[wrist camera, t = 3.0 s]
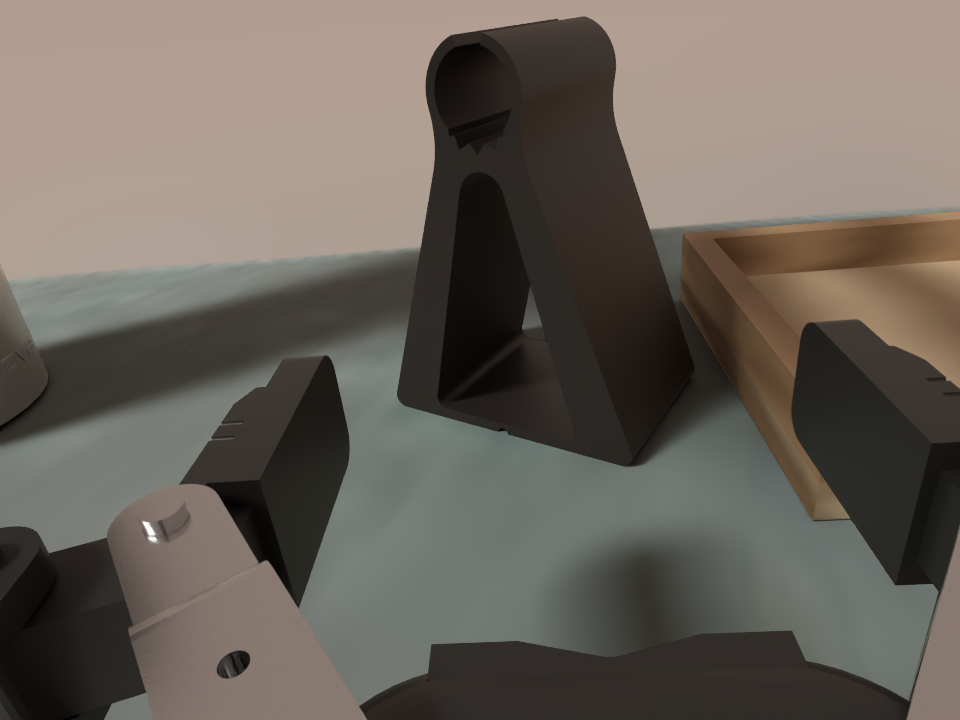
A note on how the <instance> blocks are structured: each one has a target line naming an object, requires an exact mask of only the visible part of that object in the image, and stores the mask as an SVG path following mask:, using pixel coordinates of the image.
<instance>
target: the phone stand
mask: <svg viewBox="0 0 960 720" xmlns="http://www.w3.org/2000/svg"><path fill="white" fill-rule="evenodd" d="M615 71H616V59H615V53H614V49H613V46H612V43H611V41H610V39H609V37H608V35H607V33H606V32H605V31H604V30H603V28H602V27H601V26H600V25H599V24H597V23H596V22H595V21H593V20H592V19H590V18H588V17H578V18H571V19H565V20H559V21H558V19H554V20H547V21H540V22H534V23H527V24H520V25H514V26H507V27H501V28H495V29H488V30H481V31H475V32H468V33H462V34H455V35H451V36H449V37H448V38H446V39H445V40H444V41H443V42H442V43H441V44H440V45H439V46H438V48H437V49H436V50H435V52H434V54H433V56H432V58H431V60H430V63H429V66H428V70H427V76H426V97H427V104H428V108H429V111H430V115H431V120H432V125H433V130H434V139H435V163H434V172H433V178H432V184H431V190H430V196H429V202H428V208H427V214H426V220H425V226H424V233H423V239H422V245H421V251H420V257H419V263H418V269H417V275H416V281H415V287H414V293H413V299H412V305H411V312H410V318H409V324H408V330H407V336H406V342H405V348H404V354H403V360H402V366H401V372H400V379H399V385H398V391H397V396H398V399H399V401H400V402H401V403H402V404H403V405H405V406H407V407H411V408H414V409H418V410H422V411H425V412H429V413H432V414H436V415H440V416H443V417H447V418H451V419H454V420H458V421H461V422H465V423H469V424H472V425H476V426H480V427H483V428H487V429H490V430H494V431H498V432H499V431H500V430H501V429H502V428H503V429H505V430H506V431H507V432H508V435H512V436H516V437H519V438H523V439H527V440H530V441H534V442H537V443H541V444H545V445H548V446H552V447H556V448H559V449H563V450H566V451H570V452H574V453H577V454H581V455H584V456H588V457H592V458H595V459H599V460H603V461H606V462H610V463H613V464H617V465H621V466H627V465H629V464H630V463H631V462H632V460H633V459H634V458H635V456H636V455H637V453H638V452H639V450H640V449H641V448H642V446H643V445H644V443H645V442H646V440H647V439H648V437H649V436H650V435H651V433H652V432H653V430H654V429H655V427H656V426H657V424H658V423H659V422H660V420H661V419H662V417H663V416H664V414H665V413H666V411H667V410H668V409H669V407H670V406H671V404H672V403H673V401H674V400H675V399H676V397H677V396H678V394H679V393H680V391H681V390H682V388H683V387H684V386H685V384H686V383H687V381H688V380H689V378H690V377H691V375H692V374H693V373H694V369H695V368H694V364H693V361H692V358H691V355H690V352H689V349H688V346H687V343H686V340H685V336H684V333H683V330H682V327H681V324H680V321H679V318H678V315H677V312H676V309H675V306H674V303H673V300H672V297H671V293H670V290H669V287H668V284H667V281H666V278H665V275H664V272H663V269H662V266H661V263H660V260H659V257H658V254H657V251H656V247H655V244H654V241H653V238H652V235H651V232H650V229H649V226H648V223H647V220H646V217H645V214H644V211H643V208H642V205H641V201H640V198H639V195H638V192H637V189H636V187H635V183H634V180H633V177H632V174H631V171H630V168H629V165H628V162H627V159H626V156H625V153H624V149H623V146H622V143H621V140H620V137H619V134H618V131H617V127H616V123H615V118H614V111H613V87H614V79H615ZM530 285H531V289H532V292H533V295H534V299H535V302H536V305H537V309H538V312H539V316H540V319H541V322H542V326H543V329H544V332H545V336H546V339H547V341H542V340H537V339H531V338H528V337H527V336H525V335H524V333H523V331H522V325H523V319H524V314H525V309H526V304H527V298H528V293H529V288H530Z"/></svg>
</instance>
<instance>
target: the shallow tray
mask: <svg viewBox="0 0 960 720" xmlns="http://www.w3.org/2000/svg"><path fill="white" fill-rule="evenodd" d="M680 298H681V300H682V302H683V303H684V305H685V307H686V308H687V310H688V312H689V313H690V315H691V317H692V319H693V320H694V322H695V324H696V325H697V327H698V329H699V330H700V332H701V334H702V335H703V337H704V339H705V340H706V342H707V344H708V345H709V347H710V349H711V350H712V352H713V354H714V355H715V357H716V359H717V360H718V362H719V364H720V366H721V367H722V369H723V371H724V372H725V374H726V376H727V377H728V379H729V381H730V382H731V384H732V386H733V387H734V389H735V391H736V392H737V394H738V396H739V397H740V399H741V401H742V402H743V404H744V406H745V408H746V409H747V411H748V413H749V414H750V416H751V418H752V419H753V421H754V423H755V424H756V426H757V428H758V429H759V431H760V433H761V434H762V436H763V438H764V439H765V441H766V443H767V444H768V446H769V448H770V449H771V451H772V453H773V455H774V456H775V458H776V460H777V461H778V463H779V465H780V466H781V468H782V470H783V471H784V473H785V475H786V476H787V478H788V480H789V481H790V483H791V485H792V486H793V488H794V490H795V491H796V493H797V495H798V497H799V498H800V500H801V502H802V503H803V505H804V507H805V508H806V510H807V512H808V513H809V515H810V517H811V518H812V520H833V519H850V517H849V516H848V514H847V513H846V511H845V510H844V508H843V507H842V505H841V504H840V502H839V501H838V499H837V498H836V496H835V495H834V493H833V492H832V490H831V489H830V487H829V486H828V484H827V483H826V481H825V480H824V478H823V477H822V475H821V474H820V472H819V471H818V469H817V468H816V467H815V465H814V464H813V462H812V461H811V459H810V458H809V456H808V455H807V453H806V452H805V450H804V449H803V447H802V446H801V444H800V443H799V441H798V439H797V437H796V435H795V432H794V428H793V423H792V416H791V405H792V397H793V389H794V382H795V375H796V367H797V360H798V353H799V345H800V338H801V334H802V331H803V328H804V327H805V325H806V324H807V323H809V322H822V321H836V320H850V319H858V320H860V321H862V322H863V323H864V324H865V325H866V326H867V327H868V328H870V329H871V330H872V331H873V332H874V333H875V334H876V335H877V336H879V337H880V338H881V339H882V340H883V341H884V342H885V343H886V344H888V345H889V346H896V347H898V348H901V349H903V350H905V351H907V352H909V353H912V354H914V355H916V356H918V357H921V358H923V359H925V360H926V361H928V362H929V363H930V364H931V365H932V366H933V367H935V368H936V369H937V370H938V371H939V372H941V373H942V374H943V375H944V376H945V377H946V381H951V382H952V383H954V384H955V385H956V386H957V387H958V388H960V211H959V212H947V213H934V214H922V215H909V216H897V217H884V218H872V219H859V220H847V221H834V222H822V223H809V224H797V225H784V226H772V227H759V228H747V229H734V230H722V231H709V232H697V233H684V234H683V244H682V266H681V287H680Z"/></svg>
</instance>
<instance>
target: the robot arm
mask: <svg viewBox="0 0 960 720" xmlns="http://www.w3.org/2000/svg"><path fill="white" fill-rule="evenodd" d="M47 383H48V372H47V370H46V368H45V366H44V363H43V361H42V359H41V357H40V354H39V352H38V350H37V348H36V345H35V343H34V341H33V338H32V336H31V334H30V332H29V329H28V327H27V325H26V323H25V320H24V318H23V316H22V314H21V311H20V309H19V307H18V305H17V302H16V300H15V298H14V296H13V293H12V290H11V288H10V285H9V283H8V281H7V279H6V276H5V274H4V272H3V270H2V267H1V265H0V426H1V425H2V424H4V423H6V422H7V421H9V420H11V419H12V418H13V417H15V416H16V415H17V414H19V413H20V412H22V411H23V410H24V409H26V408H27V407H28V406H29V405H30V404H31V403H32V402H33V401H35V400H36V399H37V398H38V397H39V396H40V395H41V393H42V392H43V390H44V388H45V387H46V385H47ZM791 416H792V423H793V428H794V432H795V435H796V437H797V439H798V441H799V443H800V444H801V446H802V447H803V449H804V450H805V452H806V453H807V455H808V456H809V458H810V459H811V461H812V462H813V464H814V465H815V467H816V468H817V469H818V471H819V472H820V474H821V475H822V477H823V478H824V480H825V481H826V483H827V484H828V486H829V487H830V489H831V490H832V492H833V493H834V495H835V496H836V498H837V499H838V501H839V502H840V504H841V505H842V507H843V508H844V510H845V511H846V513H847V514H848V516H849V517H850V519H851V520H852V522H853V523H854V524H855V526H856V527H857V529H858V530H859V532H860V533H861V535H862V536H863V538H864V539H865V541H866V542H867V544H868V545H869V547H870V548H871V550H872V551H873V553H874V554H875V556H876V557H877V559H878V560H879V562H880V563H881V565H882V566H883V568H884V569H885V571H886V572H887V574H888V575H889V577H890V578H891V579H892V581H893V582H894V584H895V585H915V584H933V585H934V586H935V587H936V589H937V590H938V591H939V593H938V596H937V600H936V603H935V606H934V610H933V613H932V617H931V620H930V624H929V627H928V631H927V634H926V638H925V641H924V645H923V648H922V652H921V655H920V659H919V662H918V666H917V669H916V673H915V676H914V680H913V683H912V687H911V690H910V694H909V697H908V700H906V699H904V698H902V697H901V696H899V695H897V694H895V693H894V692H892V691H890V690H888V689H886V688H884V687H882V686H880V685H878V684H875V683H873V682H871V681H869V680H867V679H864V678H862V677H859V676H856V675H854V674H851V673H848V672H846V671H843V670H840V669H836V668H833V667H829V666H825V665H822V664H818V663H813V662H808V661H806V660H805V658H804V656H803V654H802V652H801V649H800V647H799V645H798V643H797V641H796V639H795V636H794V634H793V632H792V631H770V632H744V633H718V634H700V635H696V636H692V637H689V638H685V639H681V640H678V641H674V642H670V643H667V644H663V645H659V646H656V647H652V648H648V649H645V650H641V651H637V652H634V653H630V654H626V655H623V656H618V657H601V656H595V655H590V654H585V653H579V652H574V651H568V650H563V649H557V648H552V647H547V646H541V645H536V644H530V643H525V642H519V641H508V642H482V643H456V644H431V653H430V662H429V670H428V674H424V675H421V676H418V677H414V678H412V679H409V680H407V681H404V682H402V683H399V684H397V685H394V686H393V687H391V688H389V689H387V690H385V691H383V692H381V693H379V694H377V695H375V696H374V697H372V698H371V699H369V700H368V701H366V702H365V703H363V704H362V705H360V706H358V704H357V702H356V701H355V699H354V698H353V696H352V694H351V693H350V691H349V690H348V688H347V686H346V685H345V683H344V682H343V680H342V678H341V677H340V675H339V673H338V672H337V670H336V669H335V667H334V665H333V664H332V662H331V661H330V659H329V657H328V656H327V654H326V653H325V651H324V649H323V648H322V646H321V644H320V643H319V641H318V640H317V638H316V636H315V635H314V633H313V632H312V630H311V628H310V627H309V625H308V623H307V622H306V620H305V619H304V617H303V615H302V614H301V612H300V611H299V606H300V603H301V600H302V597H303V594H304V591H305V588H306V585H307V583H308V580H309V577H310V574H311V571H312V568H313V565H314V562H315V559H316V556H317V553H318V550H319V548H320V545H321V542H322V539H323V536H324V533H325V530H326V527H327V524H328V521H329V518H330V516H331V513H332V510H333V507H334V504H335V501H336V498H337V495H338V492H339V489H340V486H341V484H342V481H343V478H344V475H345V472H346V469H347V466H348V461H349V449H350V446H349V434H348V428H347V424H346V419H345V415H344V410H343V406H342V401H341V396H340V392H339V387H338V383H337V378H336V374H335V370H334V366H333V363H332V361H331V359H330V358H329V357H328V356H327V355H326V356H312V357H298V358H285V359H284V360H283V361H282V362H281V364H280V365H279V367H278V369H277V370H276V372H275V373H274V375H273V376H272V378H271V380H270V381H269V383H268V384H267V386H266V387H259V388H255V389H254V390H253V391H251V392H250V393H248V394H247V395H246V396H244V397H243V398H242V399H240V400H239V401H238V402H236V403H235V404H234V405H233V406H232V408H231V409H230V411H229V412H228V414H227V415H226V417H225V418H224V420H223V421H222V426H219V427H218V428H217V430H216V431H215V433H214V434H213V436H212V441H209V442H208V443H207V445H206V446H205V448H204V449H203V450H202V452H201V453H200V455H199V456H198V458H197V459H196V461H195V462H194V464H193V465H192V467H191V468H190V470H189V471H188V472H187V474H186V475H185V477H184V478H183V480H182V481H181V483H180V484H179V485H176V486H171V487H167V488H164V489H161V490H158V491H155V492H153V493H150V494H148V495H146V496H144V497H142V498H140V499H139V500H137V501H135V502H134V503H132V504H131V505H129V506H128V507H127V508H126V509H124V510H123V511H122V512H121V513H120V514H119V515H118V516H117V517H116V518H115V519H114V521H113V522H112V524H111V525H110V528H109V530H108V533H107V538H105V539H101V540H98V541H94V542H90V543H86V544H82V545H79V546H75V547H71V548H67V549H64V550H60V551H56V552H52V553H48V551H47V549H46V547H45V545H44V543H43V541H42V540H41V538H40V536H39V534H38V533H37V532H36V531H34V530H33V529H30V528H27V527H19V526H18V527H5V528H0V720H104V718H105V716H106V714H107V712H108V710H109V708H110V706H111V704H112V703H115V702H118V701H121V700H124V699H128V698H131V697H134V696H137V695H140V694H143V693H146V694H147V697H148V701H149V704H150V707H151V711H152V714H153V718H154V720H960V388H958V387H957V386H956V385H955V384H954V383H952V382H951V381H946V377H945V376H944V375H943V374H942V373H941V372H939V371H938V370H937V369H936V368H935V367H933V366H932V365H931V364H930V363H929V362H928V361H926V360H925V359H923V358H921V357H918V356H916V355H914V354H912V353H909V352H907V351H905V350H903V349H901V348H898V347H896V346H889V345H888V344H886V343H885V342H884V341H883V340H882V339H881V338H880V337H879V336H877V335H876V334H875V333H874V332H873V331H872V330H871V329H870V328H868V327H867V326H866V325H865V324H864V323H863V322H862V321H860V320H858V319H850V320H836V321H822V322H809V323H807V324H806V325H805V327H804V328H803V331H802V334H801V338H800V345H799V353H798V360H797V367H796V375H795V382H794V389H793V397H792V405H791Z"/></svg>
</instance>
